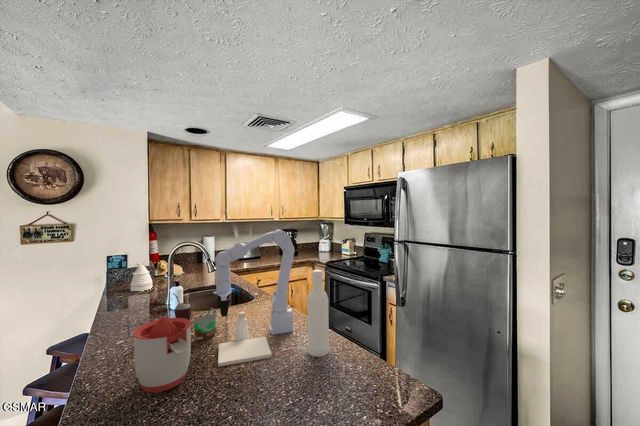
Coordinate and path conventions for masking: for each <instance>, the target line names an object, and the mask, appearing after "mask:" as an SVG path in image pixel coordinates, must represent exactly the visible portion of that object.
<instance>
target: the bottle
mask: <svg viewBox="0 0 640 426" xmlns="http://www.w3.org/2000/svg"><path fill="white" fill-rule="evenodd" d="M311 276H312V289H311V291H310V292H309V293H308V296H307V299H306V300H307V301H306V302H307V303H306V304H307V305H306V308H307V353H308V354H309V355H310V356H312V357H315V358H317V357H324V356H327V355H328V354H329V353H330V352H329V351H330V340H329V338H330V336H329V335H330V333H329V331H330V329H329V327H330V326H329V325H330V324H329V319H330V318H329V297H328V294H327V292H326V291H325V290H324V289H323V288H324V287H323V276H324V275H323V270H321V269H314V270H312V274H311Z"/></svg>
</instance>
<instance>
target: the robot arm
mask: <svg viewBox="0 0 640 426" xmlns="http://www.w3.org/2000/svg"><path fill="white" fill-rule="evenodd" d="M274 243H275V244H276V245H277V246H279V248H280V249H281V250H282V256H281V263H280V267H279V271H278V272H279V273H278V275H277V277H278V278H277V282H276V287H275V289H274V292H273V294H272V295H271V298H270V300H271V305H272V307H271V308H270V326H269V327H268V329H269V331H270V333H271V335H272V336H274V335H280V334H286V333H287V334H288V333H293V332H294V331H295V330H294V313H293V309H292V308H288V306H289V304H288V300H287V299H288V287H289V282H290V277H291V272H292V271H291V270H292V266H293V261H294V256H295V253H296V252H295V247H294V245H293V241H292V238H291V236H290V235H289V234H288V233H287V232H286V231H284V230H282V229H279V228H278V229H275V230H272V231H270V232H266V233H264V234H262V235H260V236H259V237H257V238H254V239H252V240H250V241H249V242H247V243H244V242H236V243H235V244H234V245H233V246H232V247H229V248H228V247H227V248H224V251H222V250H221V251H220V252H218V253H217V254H216V256H215V258H214V262H215V264H216V265H215V266H216V267H215V268H216V270H215V275H216V276H215V277H216V279H215V283H216V286H215V288H216V290H215V291H213V295H216V296H217V298H218V299H217V298H216V303H217V305H218V308H219V310H220V315H221V317H223V318H224V317H227V316H228V313H229V308H230V304H231V302H232V298H230V296H231V293H232V285H231V283H232V281H231V279H232V277H231V276H232V275H231V274H232V273H231V263H230V262H235V261H237V260H239V259H241V258H243V257H245V256H247V255H248V252H249V251H251V250H253V249H255V248H258V247H260V246H263V245H265V244H274Z"/></svg>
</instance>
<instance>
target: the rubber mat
mask: <svg viewBox="0 0 640 426" xmlns="http://www.w3.org/2000/svg"><path fill="white" fill-rule="evenodd" d="M217 353H218V355H217V356H218V358H217V367H218V368H219V367H223V366H230V365H236V364H241V363H242V364H243V363H248V362H252V361H258V360H264V359H269V358H270V359H271V358H272V355H273V354H272V351H271V348H270V345H269V343H268V339H267V336H262V337H261V336H260V337H255V338H249V339H247V340H240V341H236V340H234V341H228V342H222V343H218V352H217Z"/></svg>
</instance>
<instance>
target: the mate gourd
mask: <svg viewBox="0 0 640 426" xmlns="http://www.w3.org/2000/svg"><path fill="white" fill-rule="evenodd" d="M171 294H172V295H174V296H175V298H176V300H177V303H178V304H176V306H175V308H174V316H175V317H174V318H185V319H188V320H190V321H191V316H192V307H191V304H190V303H189V302H180V300H179V296H178V295H177V294H175V293H174V292H173V293H171Z"/></svg>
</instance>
